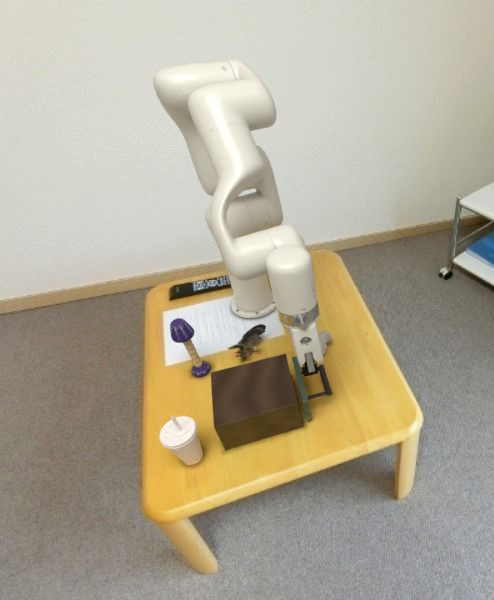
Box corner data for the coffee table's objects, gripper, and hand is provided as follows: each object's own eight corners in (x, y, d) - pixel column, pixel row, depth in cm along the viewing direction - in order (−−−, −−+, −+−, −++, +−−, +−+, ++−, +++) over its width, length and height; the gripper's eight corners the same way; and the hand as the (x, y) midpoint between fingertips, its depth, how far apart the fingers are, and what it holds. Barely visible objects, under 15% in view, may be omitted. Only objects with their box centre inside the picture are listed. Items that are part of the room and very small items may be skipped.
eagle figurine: (264, 361, 102) (274, 330, 108) (241, 347, 98) (253, 315, 103) (243, 367, 106) (254, 336, 111) (220, 353, 101) (232, 322, 107)
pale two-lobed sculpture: (313, 366, 104) (299, 352, 106) (336, 347, 109) (323, 334, 110) (314, 358, 101) (300, 344, 102) (339, 339, 105) (324, 325, 107)
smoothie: (205, 471, 83) (182, 433, 74) (171, 472, 83) (144, 434, 73) (213, 441, 88) (193, 401, 78) (181, 442, 88) (157, 403, 78)
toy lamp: (209, 377, 100) (187, 328, 88) (188, 380, 99) (163, 331, 88) (212, 362, 103) (190, 312, 92) (191, 365, 102) (167, 315, 91)
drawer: (323, 368, 101) (320, 349, 97) (336, 411, 93) (333, 393, 88) (236, 392, 96) (228, 373, 91) (241, 440, 87) (233, 421, 82)
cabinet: (291, 377, 100) (285, 353, 94) (303, 427, 91) (297, 403, 85) (221, 396, 96) (210, 372, 90) (225, 450, 86) (213, 427, 80)
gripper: (327, 331, 74) (336, 395, 86) (310, 280, 84) (320, 343, 97) (284, 342, 72) (299, 405, 84) (271, 288, 82) (286, 352, 94)
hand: (310, 372), depth 90 cm, fingers closed
